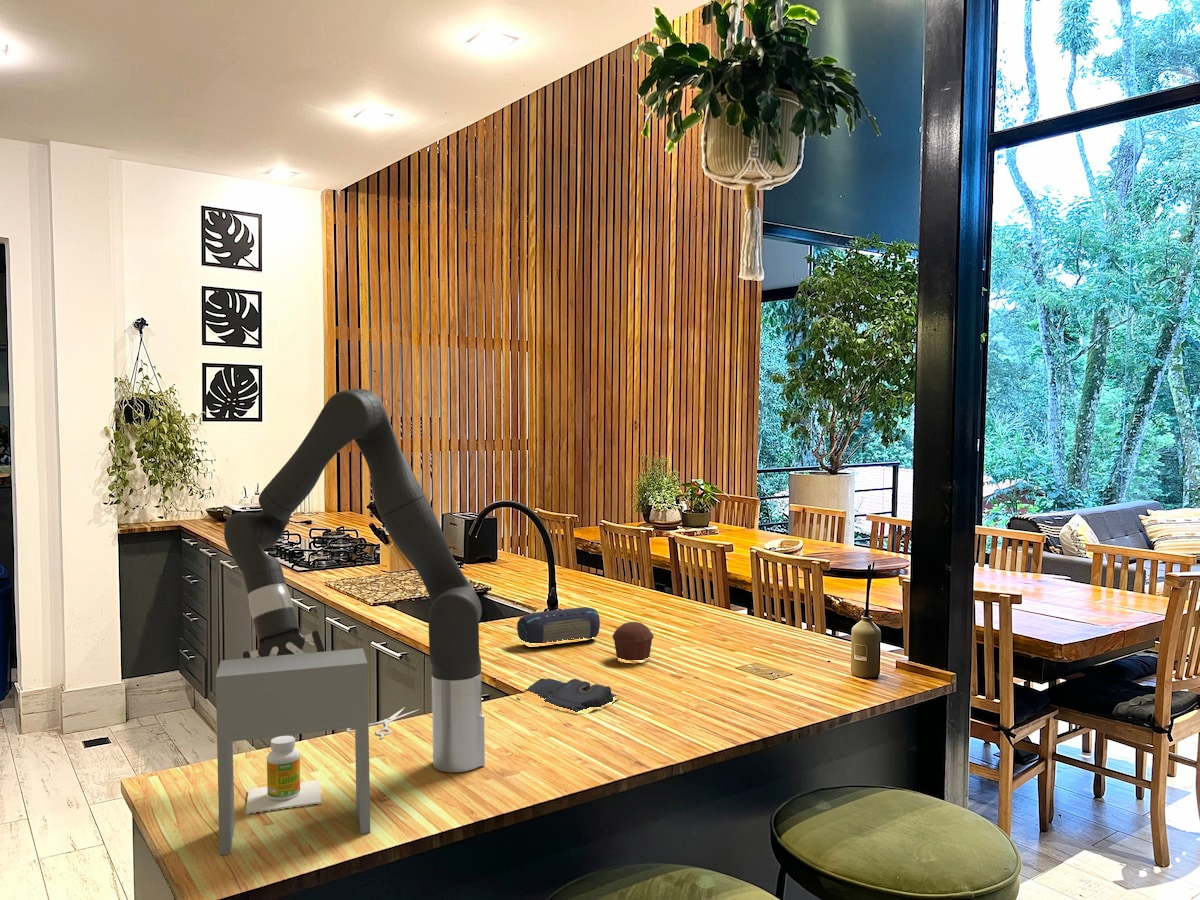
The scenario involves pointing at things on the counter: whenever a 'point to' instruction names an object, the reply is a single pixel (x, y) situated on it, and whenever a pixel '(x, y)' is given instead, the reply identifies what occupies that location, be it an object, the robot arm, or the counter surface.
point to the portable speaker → (559, 625)
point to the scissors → (385, 724)
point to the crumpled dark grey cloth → (572, 693)
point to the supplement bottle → (283, 769)
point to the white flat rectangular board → (262, 802)
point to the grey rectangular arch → (290, 713)
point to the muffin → (633, 641)
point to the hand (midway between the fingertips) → (294, 696)
